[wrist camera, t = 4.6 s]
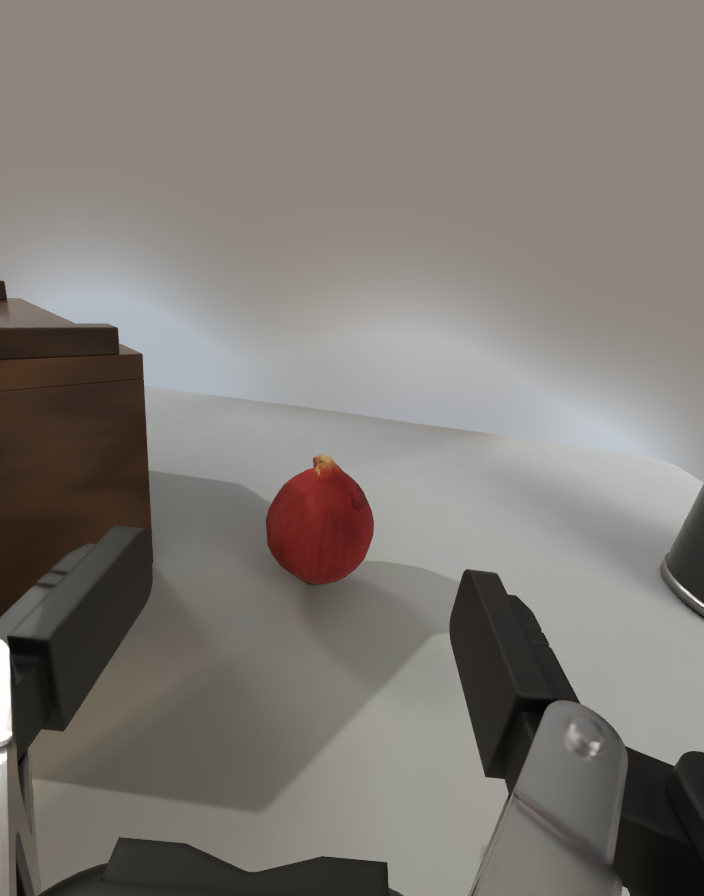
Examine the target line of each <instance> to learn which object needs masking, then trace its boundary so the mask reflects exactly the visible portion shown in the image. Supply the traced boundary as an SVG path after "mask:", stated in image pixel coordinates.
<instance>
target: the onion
mask: <svg viewBox="0 0 704 896" xmlns="http://www.w3.org/2000/svg"><path fill="white" fill-rule="evenodd" d="M313 463H314V466H313V468H312V469H309V470H306V471H304V472H302V473H300V474H298V475H296V476H295V477H293V478H292V479H290V480H289V481H288V482H287V483H286V484H284V486H283V487H282V488H281V489H280V491H279V492H278V494H277V496H276V497H275V499H274V501H273V502H272V504H271V506H270V508H269V511H268V515H267V518H266V528H267V543H268V547H269V549H270V551H271V553H272V555H273V556H274V558H275V559H276V560H277V562H278V563H279V564H280V565H281V566H282V567H283V568H284V569H286V570H287V571H288V572H290V573H292V574H293V575H295V576H297V577H298V578H300V579H302V580H303V581H304V582H306V583H308V584H311V585H319V584H327V583H331V582H336V581H338V580H340V579H342V578H344V577H346V576H347V575H348V574H350V573H351V572H352V571H354V570H355V569H356V568H357V567H358V566H359V565H360V563H361V562H362V561H363V560H364V558H365V556H366V553H367V551H368V549H369V546H370V543H371V540H372V537H373V530H374V520H373V516H372V511H371V508H370V506H369V504H368V501H367V499H366V497H365V494H364V492H363V491H362V489H361V488H360V486H359V485H358V484H357V483H356V482H355V481H354V480H353V479H352V478H351V477H350V476H349V475H347V474H346V473H345V472H343V471H342V470H341V468H340V467H339V466H338V465H336V464H335V462H334V461H333V460H332V458H331V457H328V456H325V455H319V456H317V457H314V458H313Z"/></svg>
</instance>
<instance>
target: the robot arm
mask: <svg viewBox="0 0 704 896" xmlns="http://www.w3.org/2000/svg"><path fill="white" fill-rule="evenodd" d="M660 572H661V575H662V577H663V579H664V581H665V583H666V584H667V585H668V587H669V588H670V589H671V590H672V591H673V592H674V593H675V594H676V595H677V596H678V597H679V598H680V599H681V600H682V601H683V602H685V603H686V604H687V605H688V606H690V607H691V608H692V609H694V610H695V611H696V612H698V613H699V614H701V615H702V616H704V484H703V486H702V488H701V490H700V492H699V494H698V496H697V498H696V500H695V502H694V504H693V506H692V508H691V510H690V512H689V514H688V516H687V518H686V520H685V522H684V524H683V526H682V528H681V530H680V532H679V534H678V536H677V538H676V540H675V542H674V544H673V546H672V548H671V550H670V552H669V553H668V554H667V555H666V556H665V558H664V560H663V562H662V564H661V567H660ZM152 580H153V577H152V552H151V534H150V531H149V530H148V529H144V528H136V527H127V526H119V525H116V526H114V527H112V528H111V529H110V530H109V531H108V532H107V533H106V534H105V535H104V536H103V537H102V538H101V539H100V540H99V541H98V542H97V543H96V544H94V543H87V544H85V545H83V546H81V547H79V548H77V549H76V550H74V551H72V552H70V553H68V554H66V555H65V556H64V557H63V558H62V559H61V560H60V561H59V562H58V563H57V564H56V565H55V566H53V567H52V568H51V569H50V572H49V573H46V574H45V575H44V576H43V577H42V578H41V579H40V580H39V581H38V582H37V584H36V586H33V587H32V588H30V589H29V590H28V591H27V592H26V593H25V594H24V595H23V596H22V597H21V598H20V599H19V600H18V601H17V602H16V603H15V604H14V605H13V606H12V607H11V608H10V609H9V610H7V611H6V612H5V613H4V614H3V615H2V616H1V617H0V896H403V895H402V894H400V893H399V892H397V891H395V890H392V889H390V888H388V869H387V862H377V861H366V860H355V859H345V858H334V857H323V856H322V857H318V858H314V859H310V860H306V861H301V862H297V863H293V864H289V865H285V866H280V867H276V868H272V869H268V870H264V871H260V872H247V871H244V870H242V869H240V868H237V867H235V866H233V865H231V864H229V863H227V862H225V861H222V860H220V859H218V858H216V857H214V856H212V855H210V854H207V853H205V852H203V851H201V850H199V849H197V848H194V847H192V846H190V845H188V844H185V843H174V842H163V841H152V840H142V839H131V838H120V837H119V839H118V841H117V843H116V846H115V848H114V850H113V853H112V855H111V858H110V860H109V862H108V863H106V864H101V865H98V866H95V867H92V868H90V869H87V870H84V871H81V872H79V873H77V874H75V875H73V876H71V877H69V878H67V879H65V880H63V881H61V882H59V883H57V884H55V885H54V886H52V887H51V888H49V889H47V890H46V891H44V892H42V887H41V879H40V871H39V865H38V856H37V846H36V831H35V816H34V800H33V785H32V770H31V754H30V749H29V746H30V745H31V743H32V742H33V740H34V739H35V738H36V736H37V735H38V733H39V732H40V730H41V729H45V730H55V731H64V730H65V729H66V727H67V726H68V724H69V723H70V721H71V719H72V718H73V716H74V715H75V713H76V712H77V710H78V709H79V707H80V706H81V704H82V702H83V701H84V699H85V698H86V696H87V695H88V693H89V692H90V690H91V688H92V687H93V685H94V684H95V682H96V681H97V679H98V678H99V676H100V674H101V673H102V671H103V670H104V668H105V667H106V665H107V664H108V662H109V661H110V659H111V657H112V656H113V654H114V653H115V651H116V650H117V648H118V647H119V645H120V643H121V642H122V640H123V639H124V637H125V636H126V634H127V633H128V631H129V629H130V628H131V626H132V625H133V623H134V622H135V620H136V619H137V617H138V616H139V614H140V612H141V611H142V609H143V608H144V606H145V604H146V603H147V600H148V598H149V595H150V592H151V588H152ZM450 641H451V645H452V649H453V653H454V657H455V661H456V664H457V668H458V672H459V676H460V680H461V684H462V688H463V692H464V696H465V699H466V703H467V707H468V711H469V715H470V719H471V723H472V727H473V731H474V734H475V738H476V742H477V746H478V750H479V754H480V758H481V762H482V766H483V770H484V773H485V777H491V778H501V779H505V782H506V785H507V789H508V792H509V795H508V797H507V799H506V802H505V804H504V807H503V809H502V812H501V814H500V817H499V819H498V822H497V824H496V827H495V829H494V832H493V834H492V837H491V839H490V842H489V844H488V847H487V849H486V852H485V854H484V857H483V859H482V862H481V864H480V867H479V869H478V872H477V874H476V877H475V879H474V882H473V884H472V887H471V889H470V892H469V894H468V896H621V893H622V886H624V887H626V888H628V891H629V893H630V896H704V753H703V752H697V751H691V752H687V753H685V754H683V755H682V756H681V757H680V759H679V761H678V762H677V764H676V765H675V766H672V765H670V764H667V763H665V762H663V761H660V760H658V759H655V758H653V757H650V756H648V755H645V754H643V753H640V752H638V751H635V750H633V749H631V748H628V747H626V746H625V745H624V743H623V741H622V740H621V738H620V736H619V735H618V733H617V732H616V731H615V730H614V728H613V727H612V726H611V725H610V724H609V723H608V722H607V721H606V720H605V719H604V718H602V717H601V716H600V715H599V714H597V713H596V712H594V711H593V710H591V709H589V708H587V707H586V706H583V705H581V704H580V702H579V700H578V698H577V696H576V694H575V692H574V691H573V689H572V687H571V685H570V683H569V681H568V679H567V677H566V675H565V673H564V671H563V670H562V668H561V666H560V664H559V662H558V660H557V658H556V656H555V654H554V652H553V650H552V649H551V648H549V643H548V641H547V639H546V637H545V635H544V633H542V632H541V628H540V626H539V624H538V622H537V620H536V618H535V616H534V614H533V612H532V611H531V610H530V609H529V608H528V607H527V606H526V605H525V604H524V603H523V602H522V601H521V600H520V599H519V598H518V597H517V596H514V595H507V593H506V590H505V588H504V586H503V584H502V582H501V580H500V578H499V576H498V574H497V573H493V572H485V571H477V570H469V569H467V570H465V571H464V573H463V575H462V579H461V582H460V586H459V589H458V592H457V596H456V599H455V603H454V606H453V610H452V613H451V618H450Z"/></svg>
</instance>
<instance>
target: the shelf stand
mask: <svg viewBox="0 0 704 896" xmlns="http://www.w3.org/2000/svg"><path fill="white" fill-rule="evenodd" d="M143 378H144V377H143V358H142V354H141V353H139V352H137V351H135V350H132V349H130V348H128V347H126V346H124V345H122V344H119V338H118V328H117V327H114V326H112V325H109V324H75V323H73V322H70V321H68V320H66V319H64V318H62V317H60V316H57V315H55V314H53V313H51V312H49V311H46V310H44V309H42V308H40V307H37V306H35V305H33V304H31V303H29V302H27V301H24V300H22V299H15V298H7V295H6V289H5V283H4V281H2V280H0V617H1V616H2V615H3V614H4V613H5V612H6V611H7V610H9V609H10V608H11V607H12V606H13V605H14V604H15V603H16V602H17V601H18V600H19V599H20V598H21V597H22V596H23V595H24V594H25V593H26V592H27V591H28V590H29V589H30V588H32V587H33V586H36V584H37V582H38V581H39V580H40V579H41V578H42V577H43V576H44V575H45V574H46V573H49V572H50V569H51V568H52V567H53V566H55V565H56V564H57V563H58V562H59V561H60V560H61V559H62V558H63V557H64V556H65V555H66V554H68V553H70V552H72V551H74V550H76V549H77V548H79V547H81V546H83V545H85V544H87V543H94V544H96V543H97V542H98V541H99V540H100V539H101V538H102V537H103V536H104V535H105V534H106V533H107V532H108V531H109V530H110V529H111V528H112V527H114V526H116V525H119V526H127V527H136V528H144V529H148V530H149V531H150V534H151V552H152V563H153V550H152V530H151V511H150V492H149V473H148V453H147V434H146V415H145V396H144V379H143Z"/></svg>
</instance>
